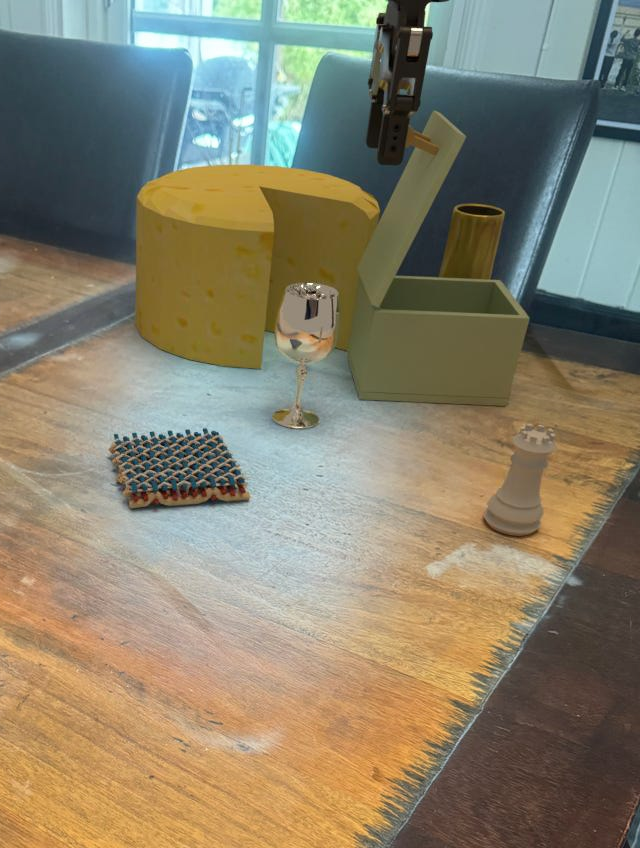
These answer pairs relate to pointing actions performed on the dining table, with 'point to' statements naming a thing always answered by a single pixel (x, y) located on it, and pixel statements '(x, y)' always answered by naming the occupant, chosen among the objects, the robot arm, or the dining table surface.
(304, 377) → the wineglass
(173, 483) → the woven mat
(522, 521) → the rook chess piece
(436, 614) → the dining table surface
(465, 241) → the vase
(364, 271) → the lid
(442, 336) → the chest
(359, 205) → the cheese
